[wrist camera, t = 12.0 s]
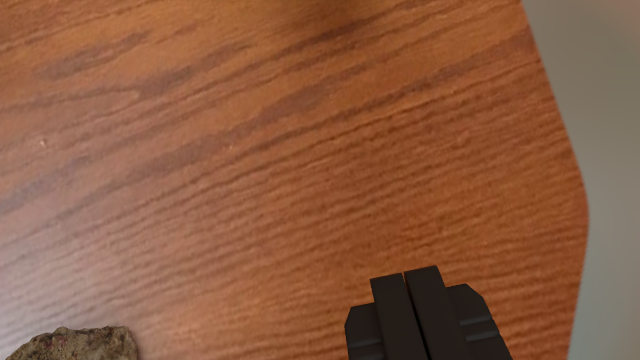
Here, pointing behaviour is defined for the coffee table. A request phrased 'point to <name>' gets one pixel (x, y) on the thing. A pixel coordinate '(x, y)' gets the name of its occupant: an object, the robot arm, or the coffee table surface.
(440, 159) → the coffee table surface
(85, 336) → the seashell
